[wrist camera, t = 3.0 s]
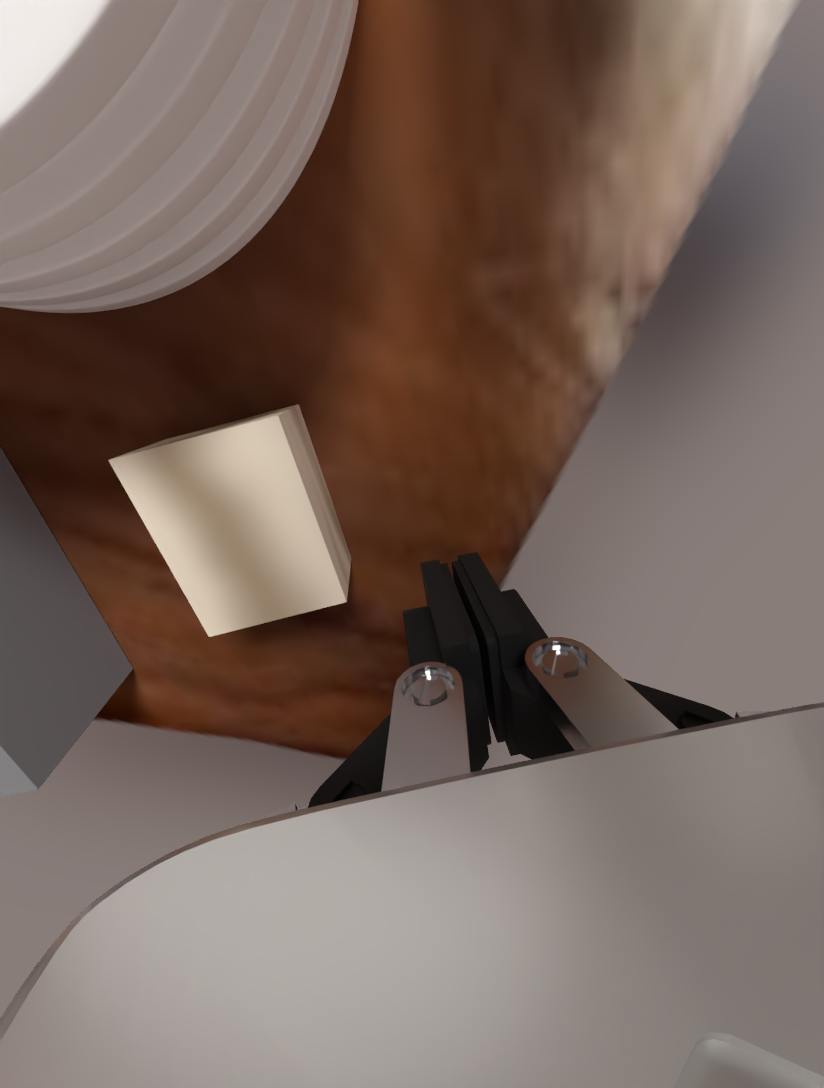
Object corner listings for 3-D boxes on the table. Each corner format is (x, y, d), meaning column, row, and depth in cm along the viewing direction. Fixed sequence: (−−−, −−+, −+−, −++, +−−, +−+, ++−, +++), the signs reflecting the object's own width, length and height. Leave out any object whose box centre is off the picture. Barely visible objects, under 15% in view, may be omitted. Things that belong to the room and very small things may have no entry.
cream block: (299, 403, 20) (277, 415, 16) (351, 557, 24) (346, 602, 19) (167, 438, 20) (107, 460, 16) (239, 585, 24) (209, 637, 20)
